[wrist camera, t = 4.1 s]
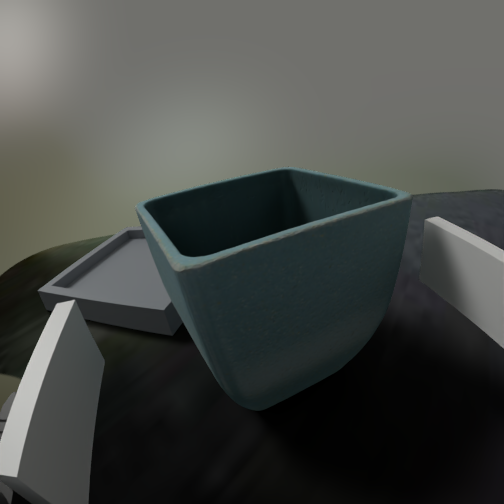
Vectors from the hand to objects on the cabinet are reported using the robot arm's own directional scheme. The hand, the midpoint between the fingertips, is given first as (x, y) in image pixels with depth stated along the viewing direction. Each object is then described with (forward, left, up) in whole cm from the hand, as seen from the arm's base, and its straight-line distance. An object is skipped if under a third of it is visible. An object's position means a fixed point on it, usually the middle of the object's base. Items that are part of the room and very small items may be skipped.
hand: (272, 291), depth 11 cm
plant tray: (+15, -11, -6) cm, 20 cm away
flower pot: (+1, -3, -7) cm, 7 cm away
